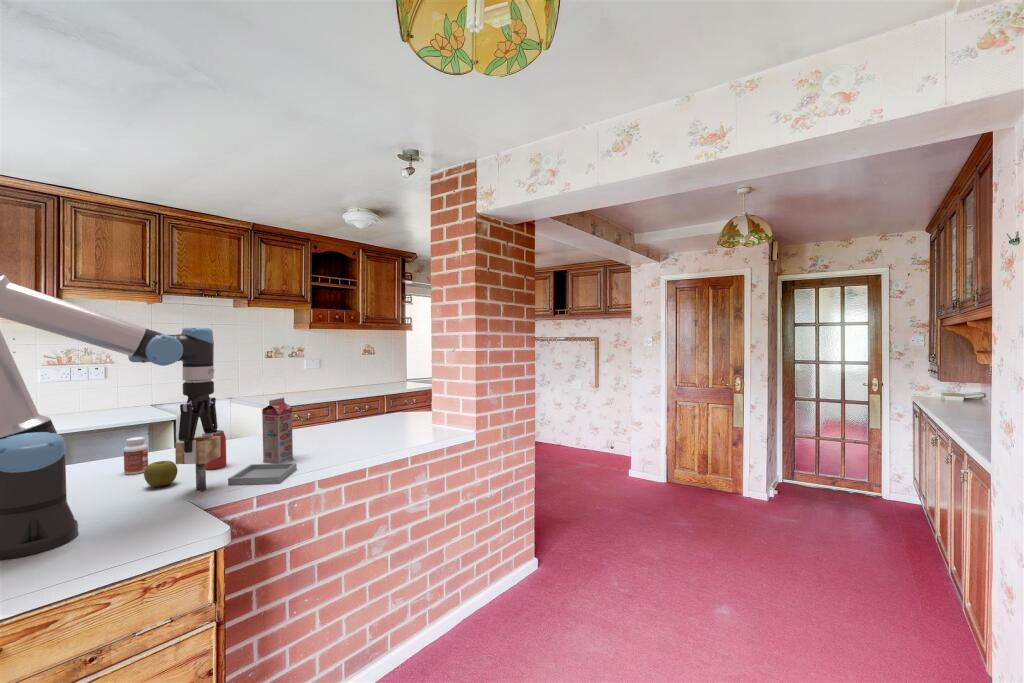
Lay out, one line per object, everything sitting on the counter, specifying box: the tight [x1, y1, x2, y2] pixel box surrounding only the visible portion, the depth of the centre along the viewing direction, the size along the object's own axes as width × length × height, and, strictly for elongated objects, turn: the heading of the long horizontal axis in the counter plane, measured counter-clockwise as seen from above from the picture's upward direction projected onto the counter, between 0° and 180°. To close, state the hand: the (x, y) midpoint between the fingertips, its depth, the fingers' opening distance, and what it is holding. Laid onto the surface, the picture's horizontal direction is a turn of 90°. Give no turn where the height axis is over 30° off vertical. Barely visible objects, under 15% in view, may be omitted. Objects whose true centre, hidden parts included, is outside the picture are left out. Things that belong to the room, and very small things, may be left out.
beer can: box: [205, 429, 227, 471], centre depth 159 cm, size 7×7×12 cm
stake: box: [195, 464, 207, 492], centre depth 136 cm, size 2×2×8 cm
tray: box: [227, 462, 298, 486], centre depth 149 cm, size 15×15×2 cm
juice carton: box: [261, 397, 294, 464], centre depth 166 cm, size 7×7×22 cm
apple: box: [143, 460, 178, 488], centre depth 140 cm, size 8×8×7 cm
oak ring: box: [174, 435, 221, 465], centre depth 136 cm, size 8×8×6 cm
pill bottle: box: [123, 436, 149, 475], centre depth 154 cm, size 6×6×11 cm
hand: (199, 459), depth 136 cm, fingers closed on oak ring, 8 cm apart
